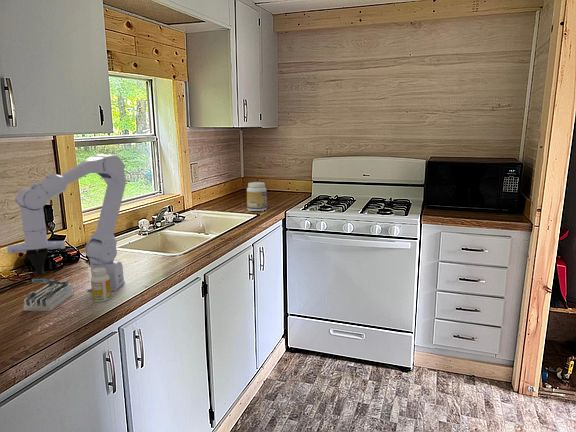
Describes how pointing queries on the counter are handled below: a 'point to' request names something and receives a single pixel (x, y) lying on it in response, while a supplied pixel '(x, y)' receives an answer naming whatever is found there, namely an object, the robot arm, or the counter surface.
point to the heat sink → (48, 297)
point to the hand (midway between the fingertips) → (40, 273)
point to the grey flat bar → (46, 281)
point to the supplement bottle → (100, 285)
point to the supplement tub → (256, 196)
